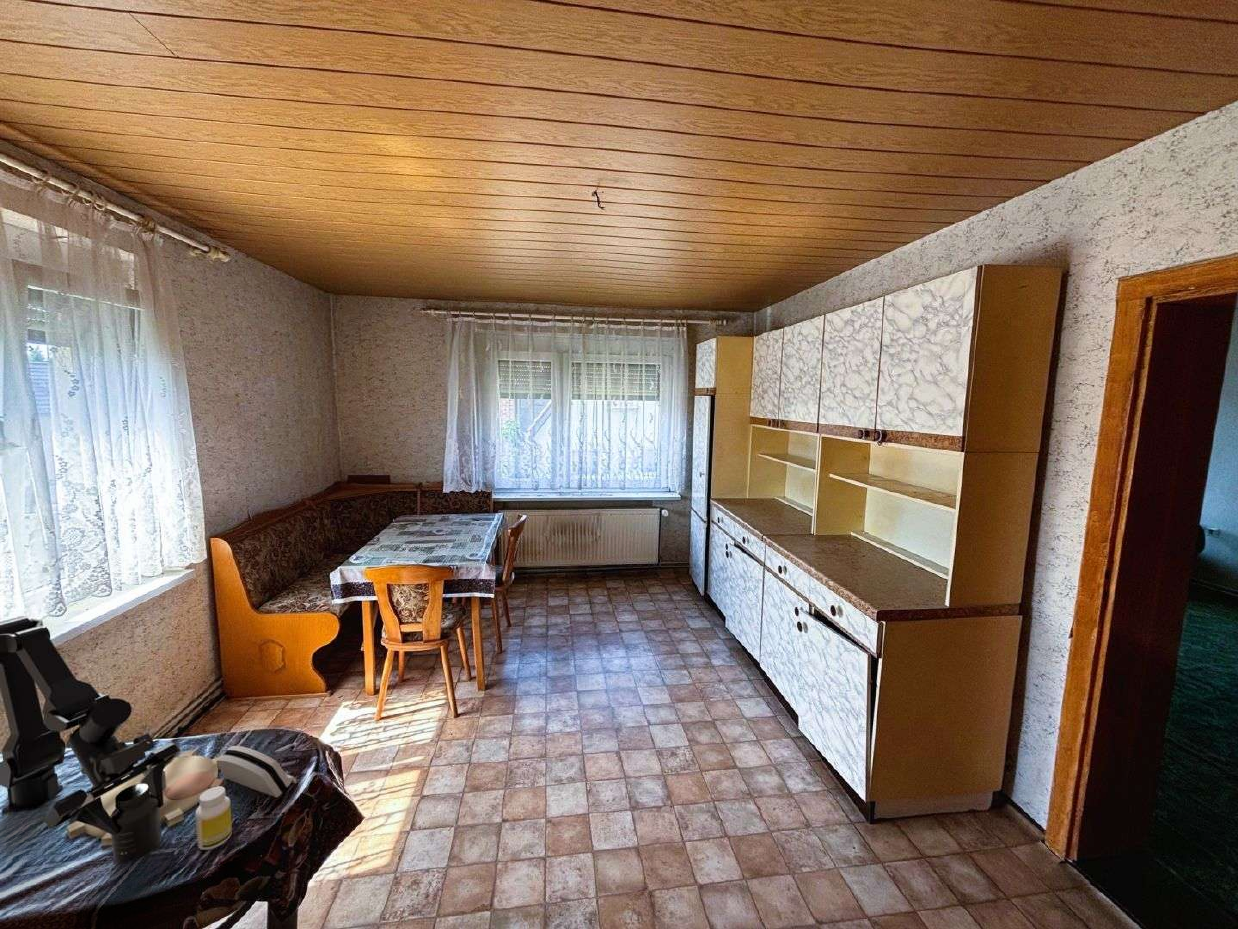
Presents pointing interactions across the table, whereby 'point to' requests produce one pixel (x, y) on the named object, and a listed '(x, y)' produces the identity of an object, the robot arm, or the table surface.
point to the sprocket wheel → (165, 791)
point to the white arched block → (254, 770)
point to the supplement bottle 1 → (135, 823)
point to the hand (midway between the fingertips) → (139, 819)
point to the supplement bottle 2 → (213, 818)
